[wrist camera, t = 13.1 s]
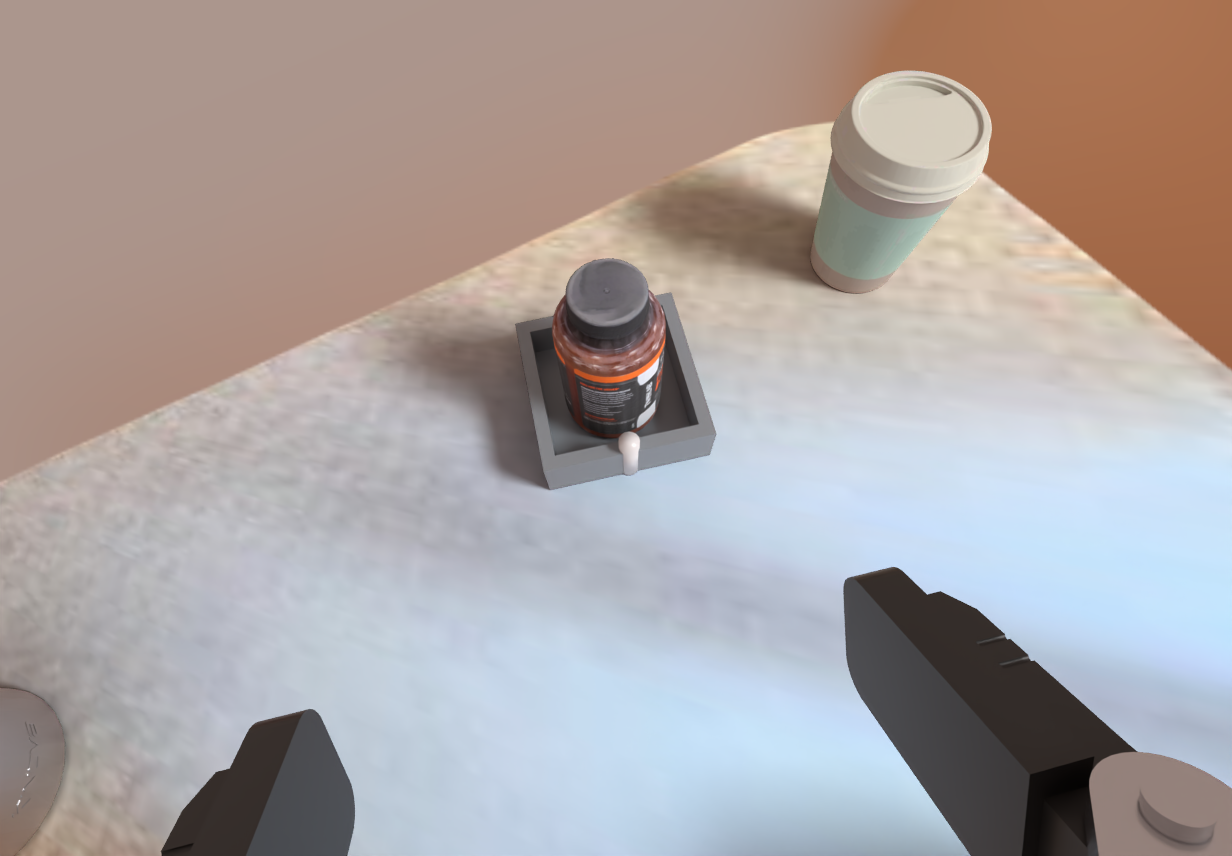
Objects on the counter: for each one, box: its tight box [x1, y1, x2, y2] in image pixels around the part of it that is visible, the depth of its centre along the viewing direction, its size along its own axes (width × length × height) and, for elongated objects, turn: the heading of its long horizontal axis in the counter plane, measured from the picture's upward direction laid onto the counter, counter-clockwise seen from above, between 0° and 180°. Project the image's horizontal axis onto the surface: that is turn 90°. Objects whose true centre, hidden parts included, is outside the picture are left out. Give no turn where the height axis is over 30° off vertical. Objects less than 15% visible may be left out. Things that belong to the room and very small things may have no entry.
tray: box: [515, 293, 716, 490], centre depth 39 cm, size 10×10×4 cm
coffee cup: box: [810, 71, 991, 293], centre depth 40 cm, size 9×8×12 cm
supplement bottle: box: [552, 258, 666, 438], centre depth 35 cm, size 6×6×11 cm
